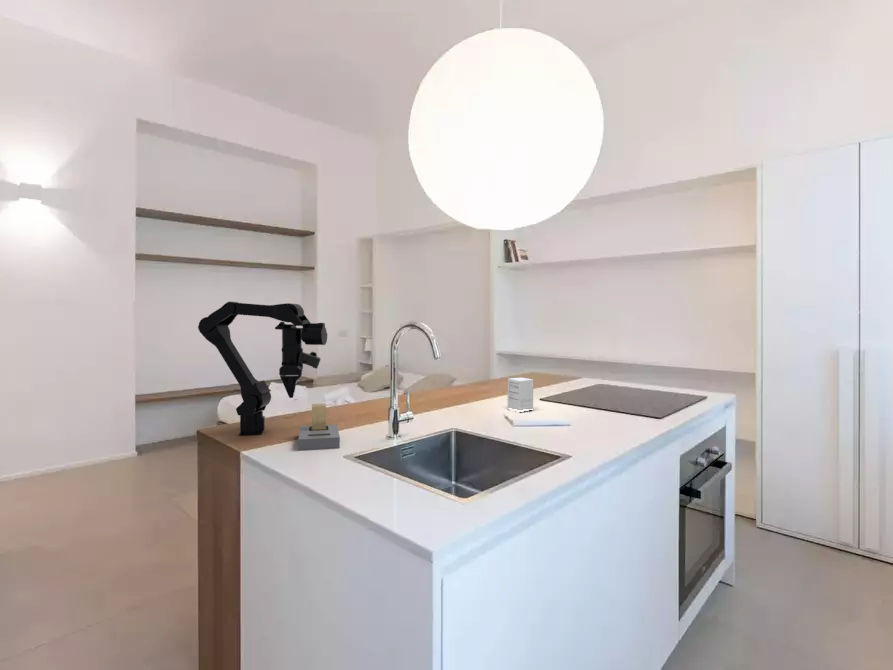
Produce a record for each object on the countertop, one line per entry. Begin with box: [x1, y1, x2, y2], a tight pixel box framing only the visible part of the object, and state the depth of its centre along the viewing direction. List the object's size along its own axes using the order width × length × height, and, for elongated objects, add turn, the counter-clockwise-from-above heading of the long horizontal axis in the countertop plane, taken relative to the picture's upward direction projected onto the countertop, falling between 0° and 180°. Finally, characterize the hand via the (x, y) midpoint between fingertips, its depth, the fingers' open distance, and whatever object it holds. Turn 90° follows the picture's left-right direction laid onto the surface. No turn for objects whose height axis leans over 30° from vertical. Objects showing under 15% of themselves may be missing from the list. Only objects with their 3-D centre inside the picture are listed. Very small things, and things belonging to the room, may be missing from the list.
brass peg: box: [311, 403, 327, 431], centre depth 144 cm, size 4×4×10 cm
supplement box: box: [507, 377, 534, 410], centre depth 191 cm, size 7×7×13 cm
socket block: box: [297, 424, 341, 451], centre depth 141 cm, size 11×16×3 cm
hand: (291, 395), depth 149 cm, fingers open, 9 cm apart
